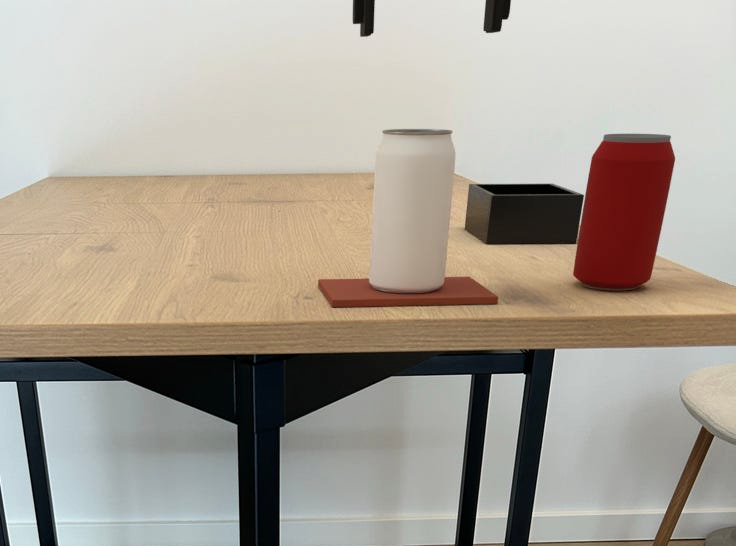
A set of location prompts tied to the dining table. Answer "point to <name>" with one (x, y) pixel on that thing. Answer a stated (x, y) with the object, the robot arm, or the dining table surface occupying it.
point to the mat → (366, 295)
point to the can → (411, 210)
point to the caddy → (523, 213)
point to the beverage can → (623, 211)
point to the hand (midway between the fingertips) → (429, 34)
